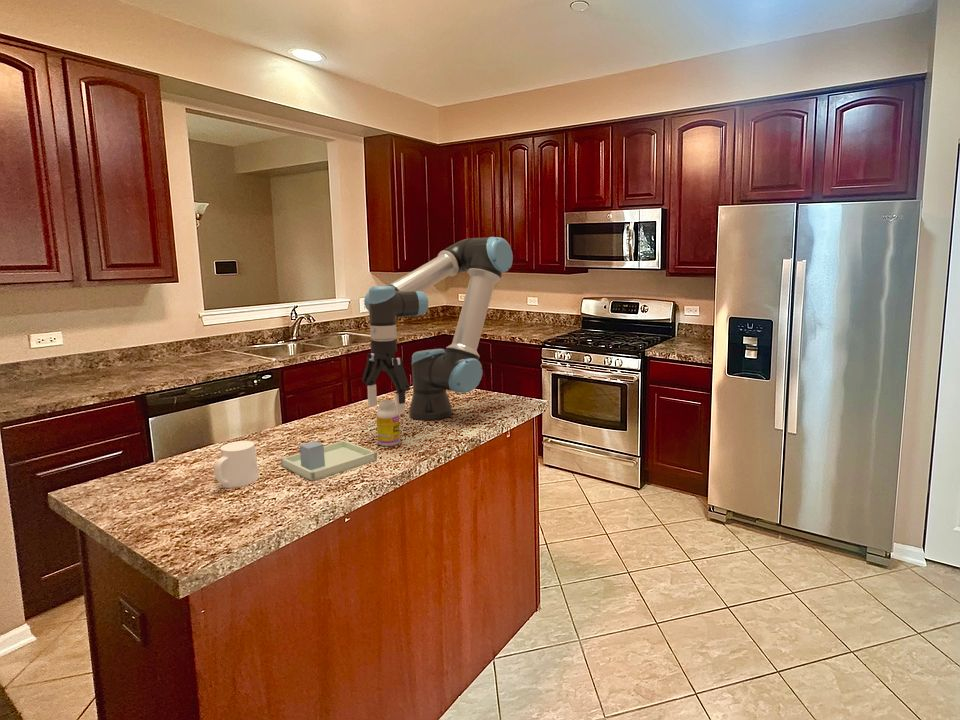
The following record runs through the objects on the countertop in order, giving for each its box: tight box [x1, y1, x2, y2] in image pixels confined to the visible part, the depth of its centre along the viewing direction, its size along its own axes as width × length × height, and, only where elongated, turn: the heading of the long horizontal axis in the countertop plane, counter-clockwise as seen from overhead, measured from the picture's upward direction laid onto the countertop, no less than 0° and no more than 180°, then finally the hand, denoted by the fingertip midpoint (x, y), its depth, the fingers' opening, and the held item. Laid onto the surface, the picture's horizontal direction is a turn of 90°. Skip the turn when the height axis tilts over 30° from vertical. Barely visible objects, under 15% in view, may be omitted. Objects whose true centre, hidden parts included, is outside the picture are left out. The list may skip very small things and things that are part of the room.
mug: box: [213, 440, 260, 489], centre depth 145 cm, size 12×9×8 cm
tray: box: [280, 440, 378, 482], centre depth 157 cm, size 20×16×2 cm
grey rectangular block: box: [299, 440, 325, 470], centre depth 153 cm, size 4×4×6 cm
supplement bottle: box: [375, 399, 401, 447], centre depth 172 cm, size 7×7×13 cm
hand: (386, 410), depth 171 cm, fingers open, 13 cm apart
